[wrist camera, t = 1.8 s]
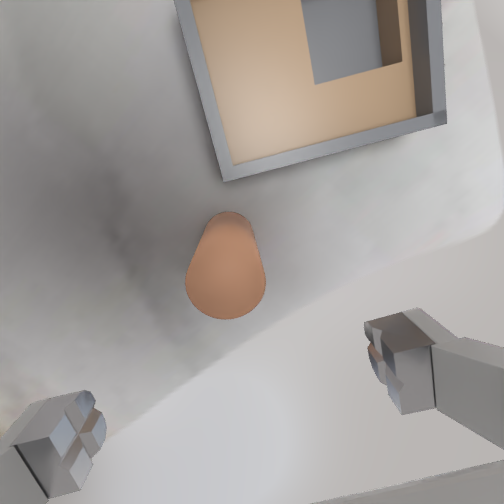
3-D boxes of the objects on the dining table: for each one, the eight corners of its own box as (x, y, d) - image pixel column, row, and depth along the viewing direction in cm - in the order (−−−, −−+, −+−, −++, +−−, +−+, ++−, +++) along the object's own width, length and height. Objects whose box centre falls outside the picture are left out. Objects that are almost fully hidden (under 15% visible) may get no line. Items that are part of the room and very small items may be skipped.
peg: (212, 264, 25) (199, 327, 15) (198, 218, 24) (174, 256, 14) (258, 252, 25) (273, 308, 15) (246, 206, 24) (254, 235, 14)
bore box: (225, 178, 23) (223, 182, 18) (181, 13, 20) (164, -34, 15) (402, 131, 23) (446, 123, 18) (386, -43, 20) (435, -109, 15)
